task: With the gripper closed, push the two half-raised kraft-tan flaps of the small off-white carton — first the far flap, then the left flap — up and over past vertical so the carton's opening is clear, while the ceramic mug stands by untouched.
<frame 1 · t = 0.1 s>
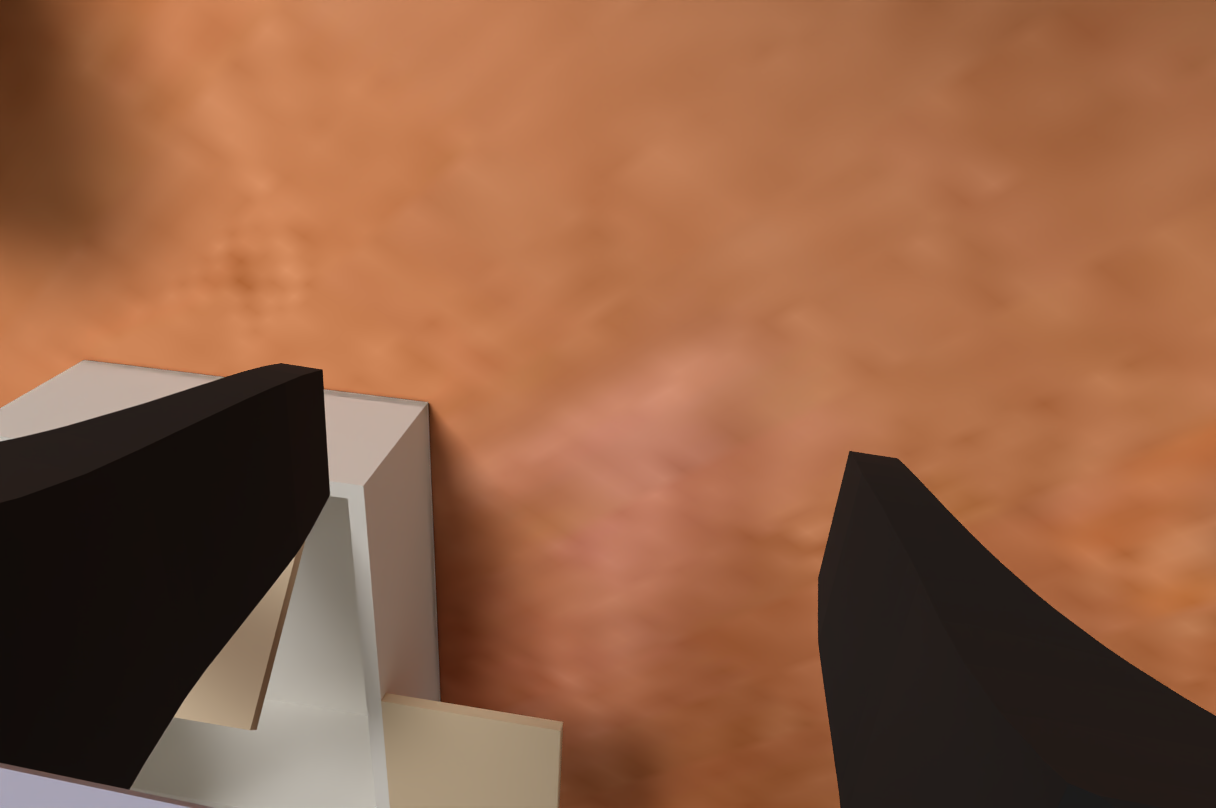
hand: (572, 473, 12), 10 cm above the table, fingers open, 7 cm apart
carton: (276, 559, 27), on the table
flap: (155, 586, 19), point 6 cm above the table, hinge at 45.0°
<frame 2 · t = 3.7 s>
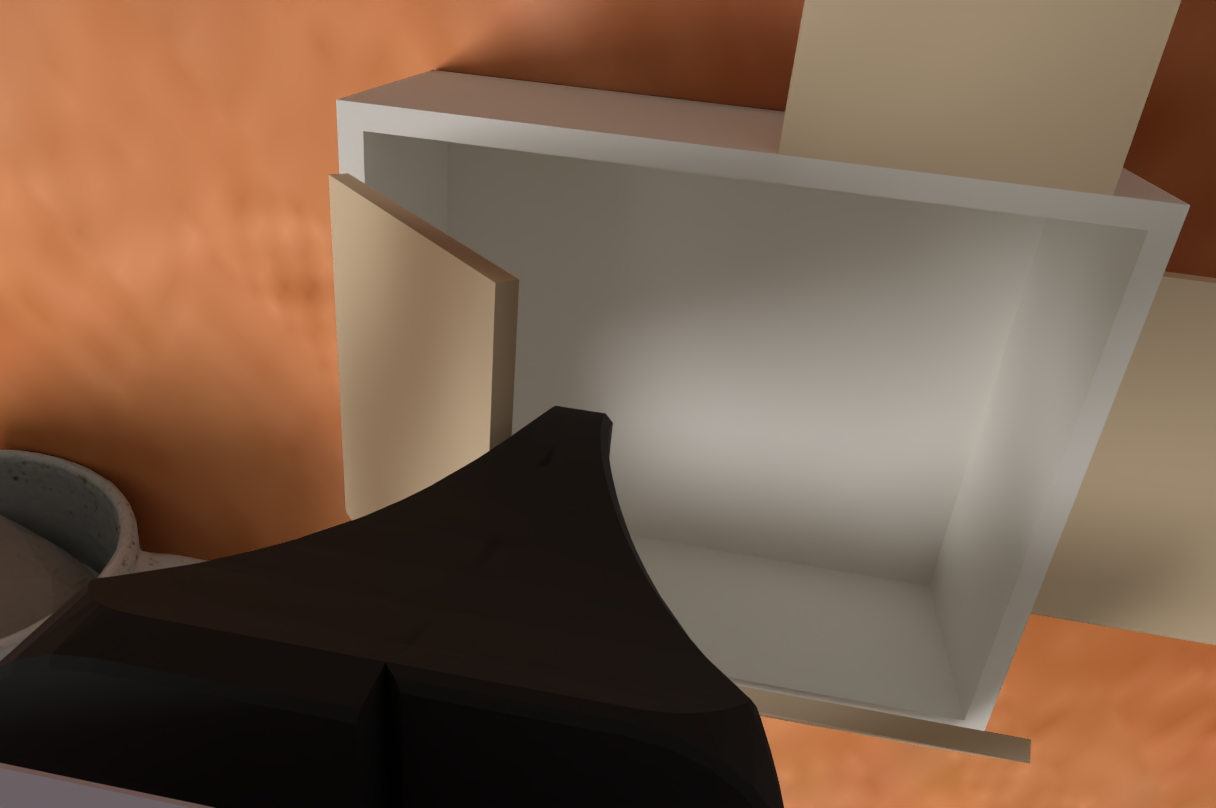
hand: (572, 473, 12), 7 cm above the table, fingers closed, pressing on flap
carton: (709, 355, 19), on the table
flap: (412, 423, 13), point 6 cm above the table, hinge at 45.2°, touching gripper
ceramic mug: (122, 574, 24), on the table
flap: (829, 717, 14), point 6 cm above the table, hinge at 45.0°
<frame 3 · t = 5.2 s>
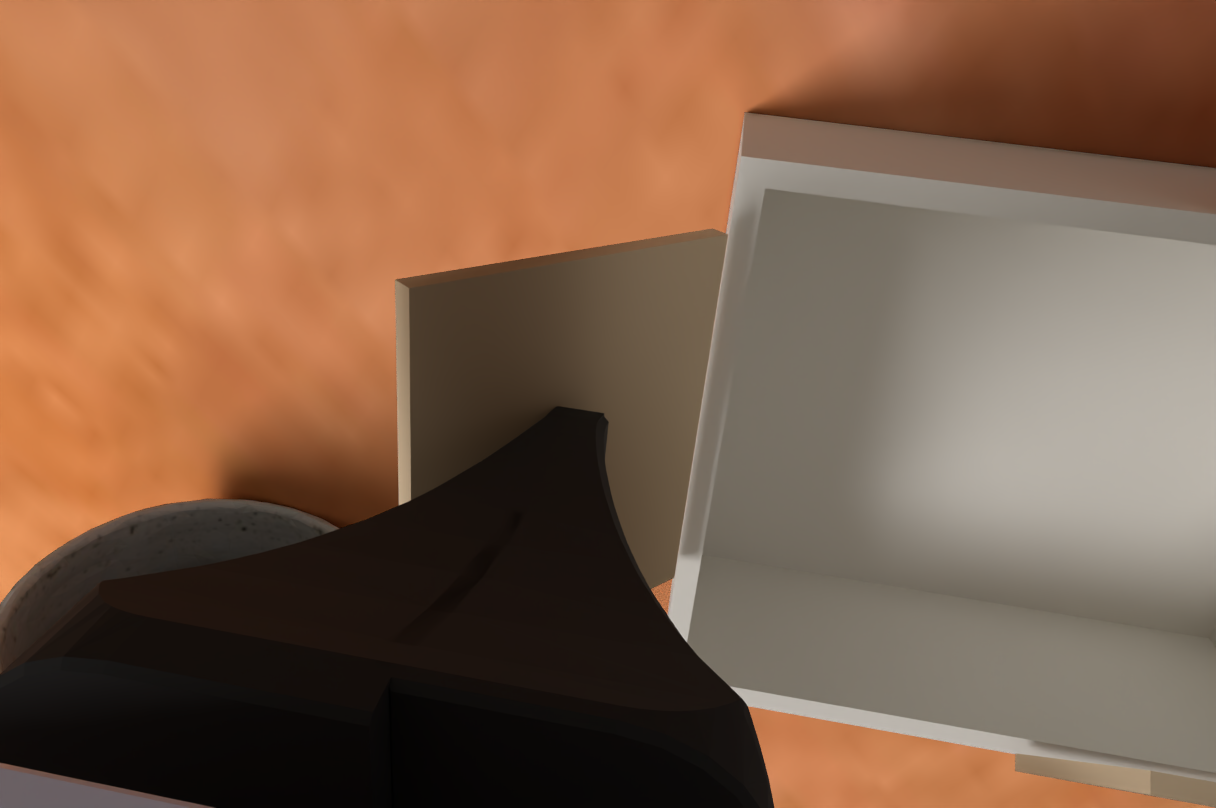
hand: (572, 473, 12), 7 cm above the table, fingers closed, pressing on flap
carton: (1002, 404, 18), on the table
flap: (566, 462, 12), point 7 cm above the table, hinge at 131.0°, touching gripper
ceramic mug: (336, 624, 24), on the table
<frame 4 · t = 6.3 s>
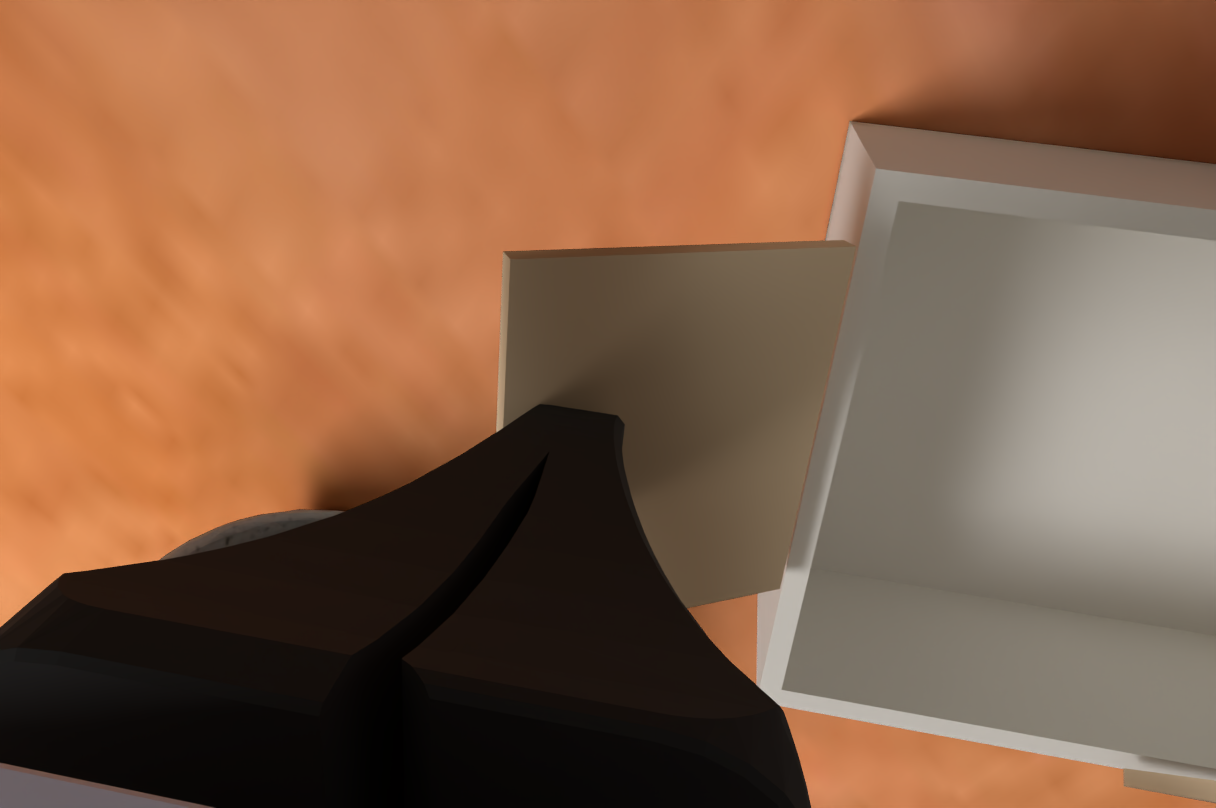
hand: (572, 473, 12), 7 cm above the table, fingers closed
carton: (1099, 414, 18), on the table
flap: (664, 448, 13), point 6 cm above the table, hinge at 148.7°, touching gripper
ceramic mug: (419, 634, 24), on the table
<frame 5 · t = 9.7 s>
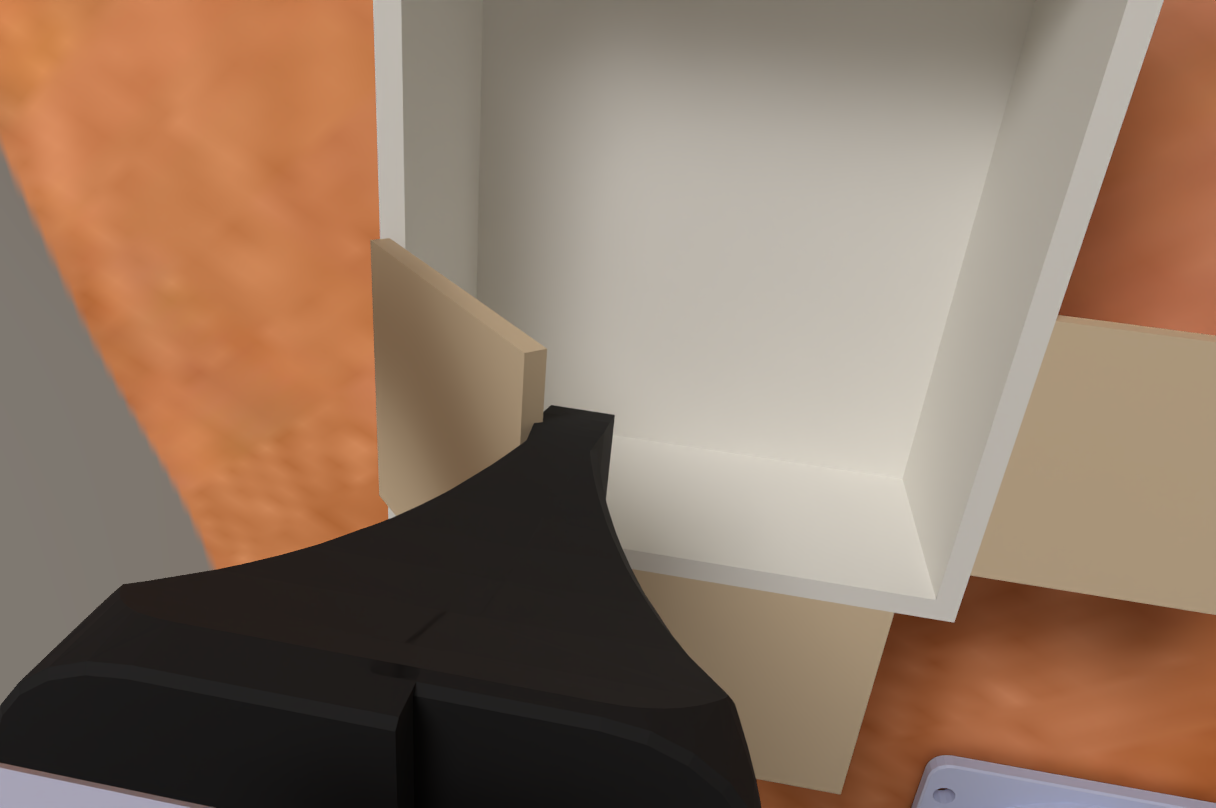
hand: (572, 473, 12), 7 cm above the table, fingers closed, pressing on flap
carton: (721, 179, 17), on the table
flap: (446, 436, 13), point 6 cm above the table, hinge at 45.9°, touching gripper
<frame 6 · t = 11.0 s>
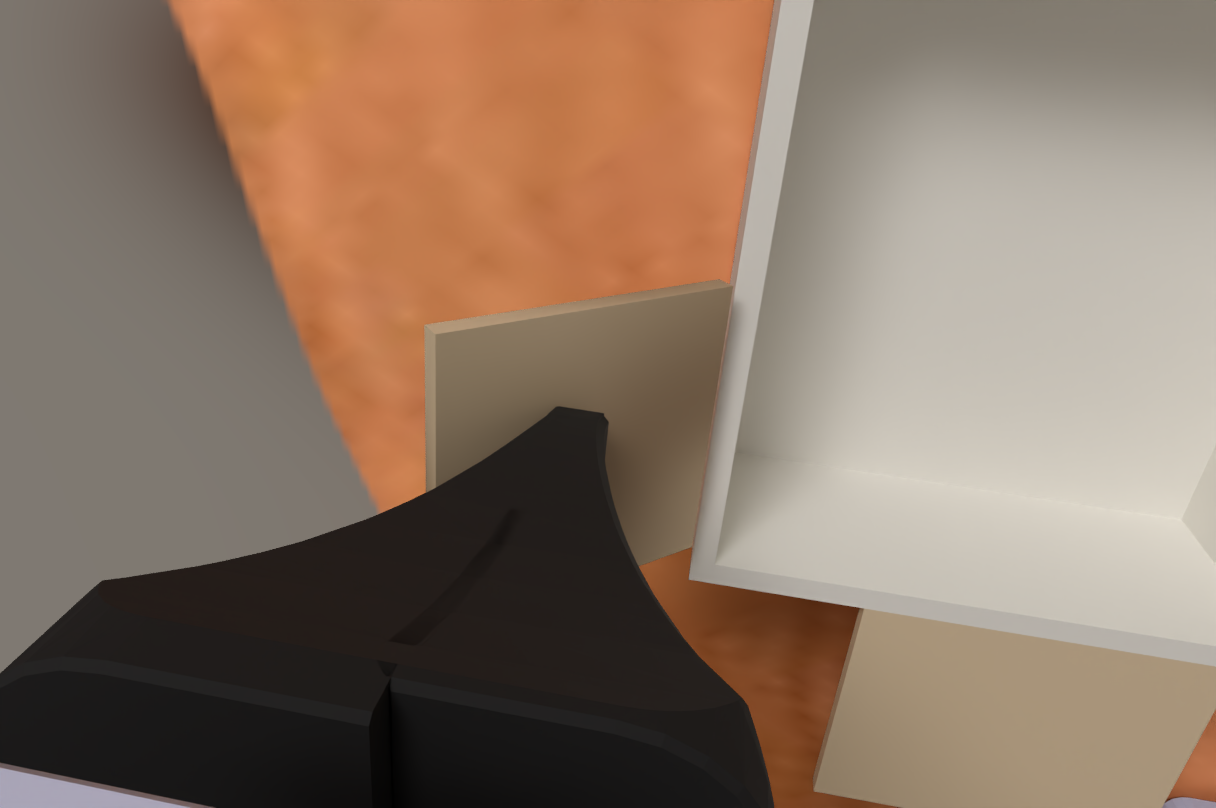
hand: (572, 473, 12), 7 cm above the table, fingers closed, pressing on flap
carton: (1024, 211, 16), on the table
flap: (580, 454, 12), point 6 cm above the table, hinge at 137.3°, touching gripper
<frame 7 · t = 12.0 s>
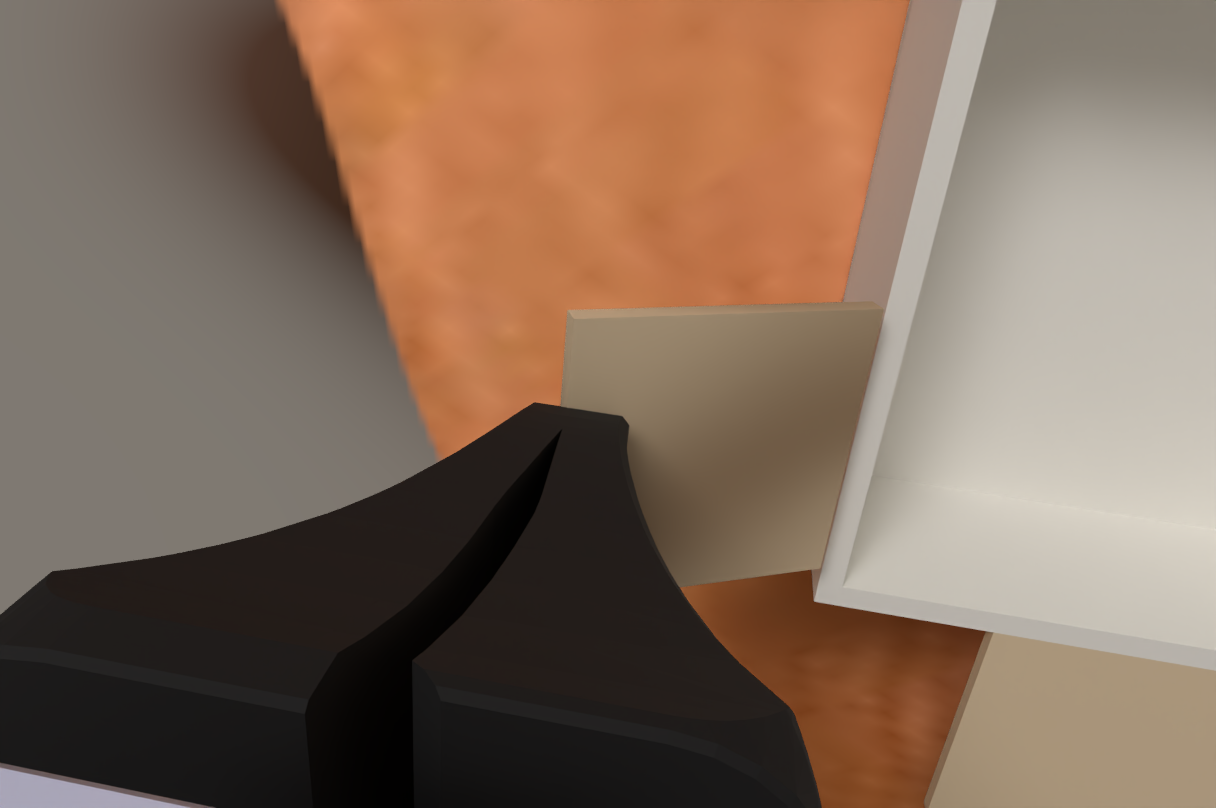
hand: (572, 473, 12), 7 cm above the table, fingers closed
carton: (1150, 232, 16), on the table
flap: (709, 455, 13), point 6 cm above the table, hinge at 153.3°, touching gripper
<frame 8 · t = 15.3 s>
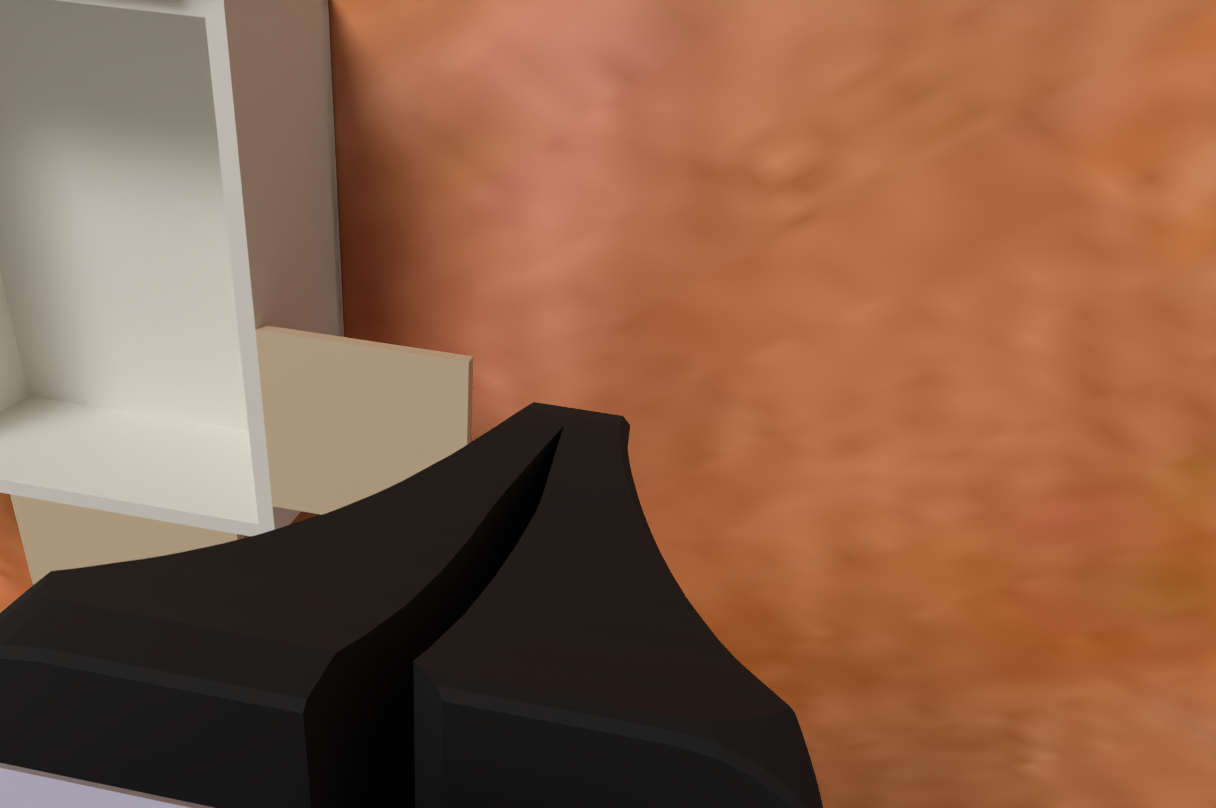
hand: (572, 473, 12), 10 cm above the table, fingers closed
carton: (156, 224, 23), on the table
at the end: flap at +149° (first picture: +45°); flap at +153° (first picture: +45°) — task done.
